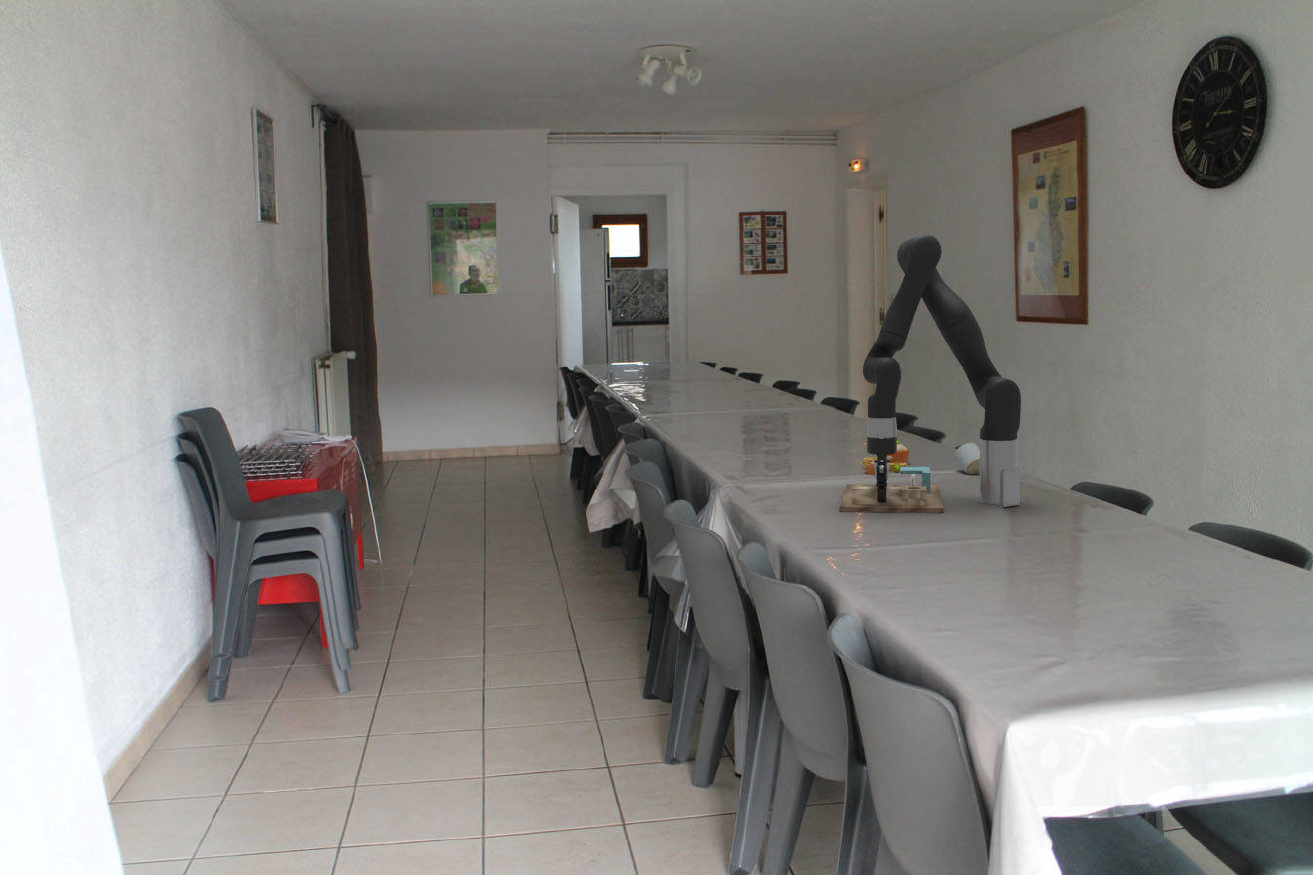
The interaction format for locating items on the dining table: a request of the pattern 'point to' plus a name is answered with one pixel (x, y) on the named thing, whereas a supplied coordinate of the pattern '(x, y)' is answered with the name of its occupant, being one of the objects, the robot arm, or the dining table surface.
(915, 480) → the rod
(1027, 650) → the dining table surface
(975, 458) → the ceramic mug
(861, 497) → the maple link
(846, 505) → the walnut board
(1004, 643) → the dining table surface
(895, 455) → the toy tea set
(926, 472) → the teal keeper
